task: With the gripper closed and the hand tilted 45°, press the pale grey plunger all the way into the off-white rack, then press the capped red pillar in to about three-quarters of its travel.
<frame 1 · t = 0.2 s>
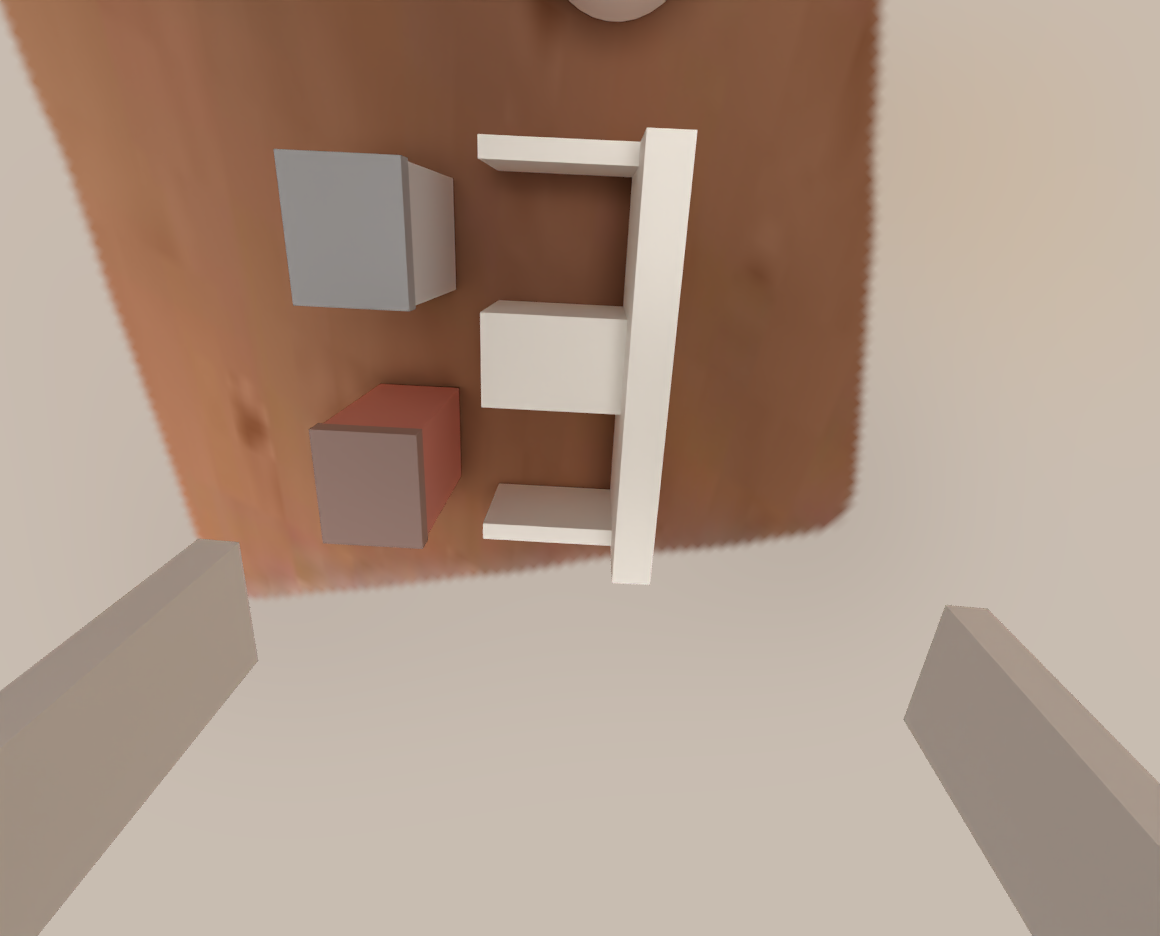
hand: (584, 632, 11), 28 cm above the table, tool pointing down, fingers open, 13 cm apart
capped red pillar: (398, 457, 34), point 5 cm above the table, slide at 0.0 cm
grey plunger: (383, 233, 30), point 5 cm above the table, slide at 0.0 cm
rack: (547, 344, 37), on the table
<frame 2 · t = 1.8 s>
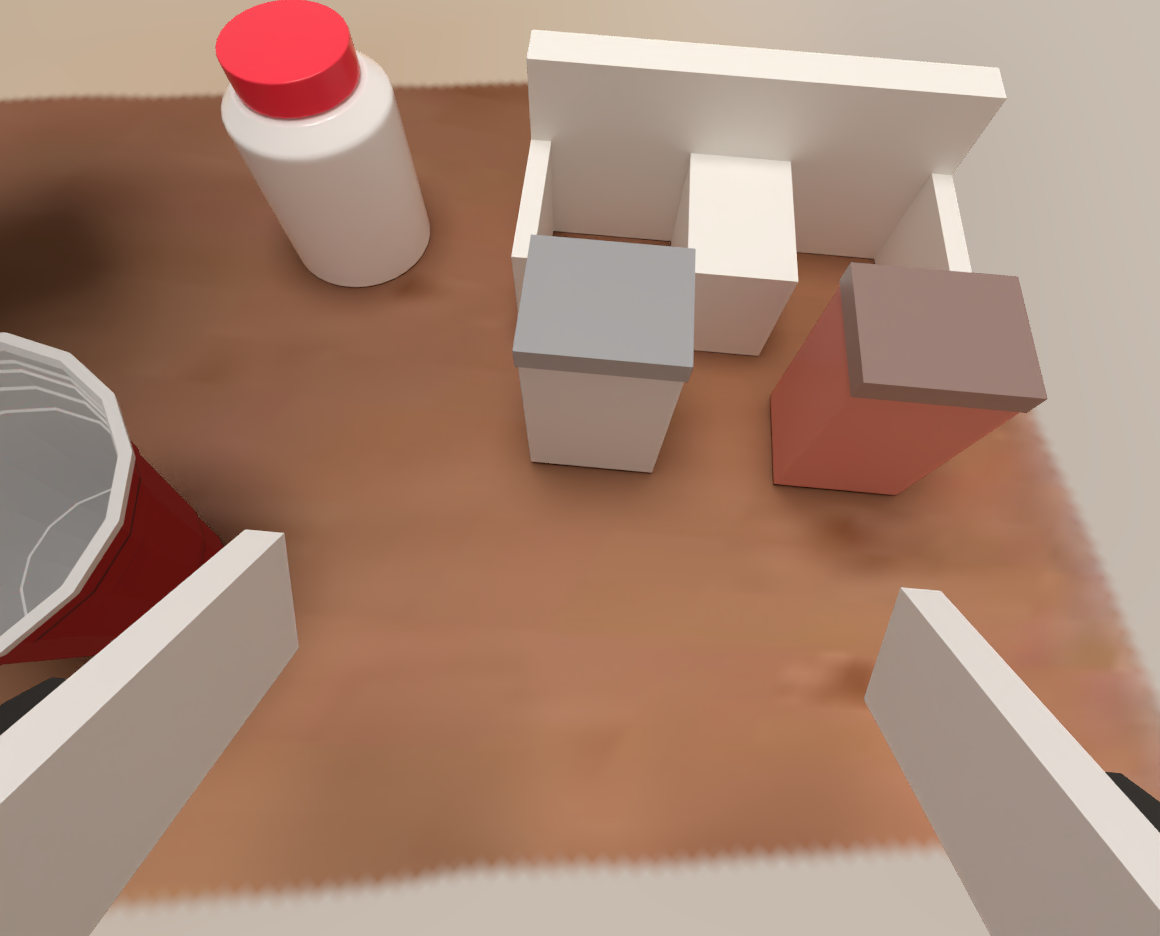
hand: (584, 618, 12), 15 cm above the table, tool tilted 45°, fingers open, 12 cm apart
capped red pillar: (877, 395, 26), point 5 cm above the table, slide at 0.0 cm
plastic cup: (173, 584, 27), on the table
pill bottle: (365, 237, 35), on the table
grey plunger: (600, 370, 26), point 5 cm above the table, slide at 0.0 cm
rack: (712, 306, 34), on the table
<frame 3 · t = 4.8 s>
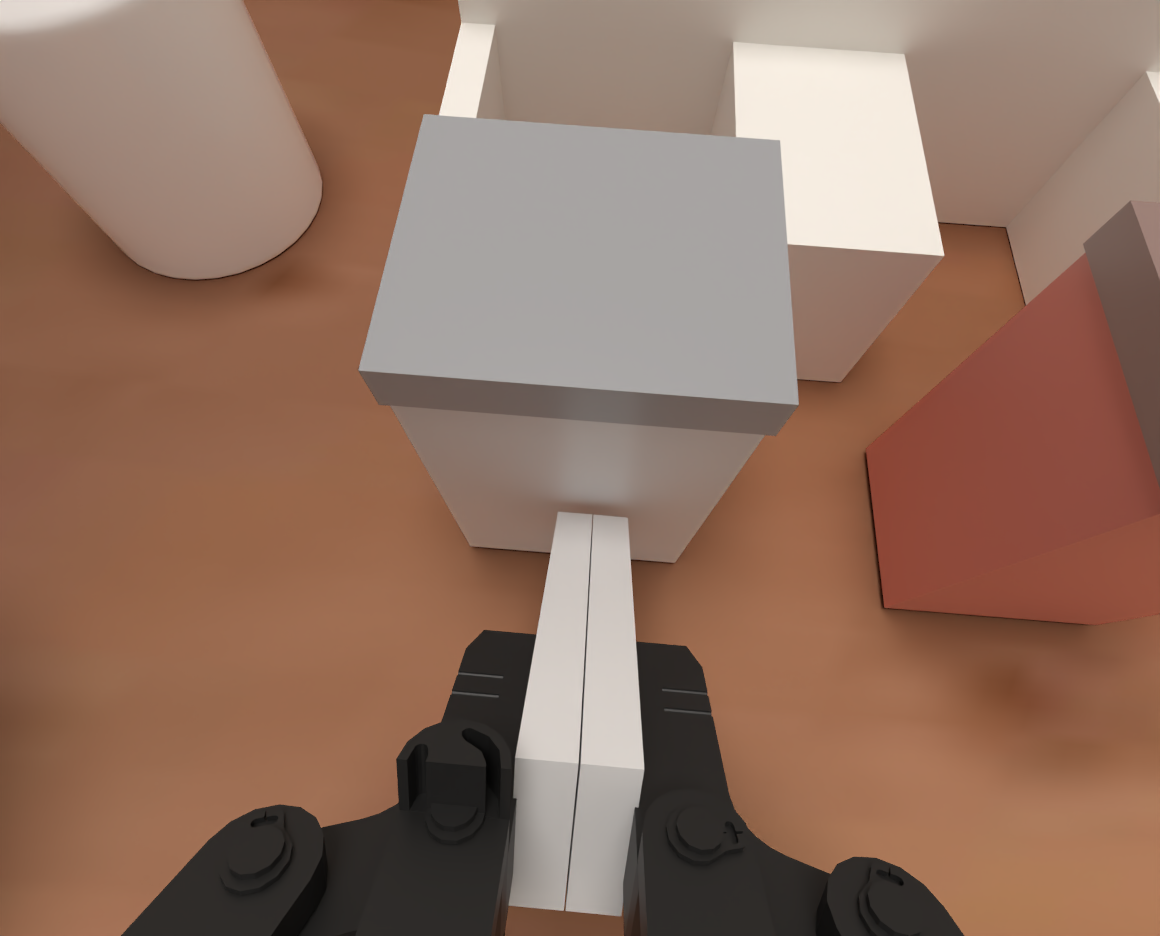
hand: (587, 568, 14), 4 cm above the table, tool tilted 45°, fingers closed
capped red pillar: (1111, 470, 13), point 5 cm above the table, slide at 0.0 cm
pill bottle: (222, 203, 23), on the table
grey plunger: (583, 397, 14), point 5 cm above the table, slide at 0.8 cm, touching gripper
rack: (762, 304, 21), on the table
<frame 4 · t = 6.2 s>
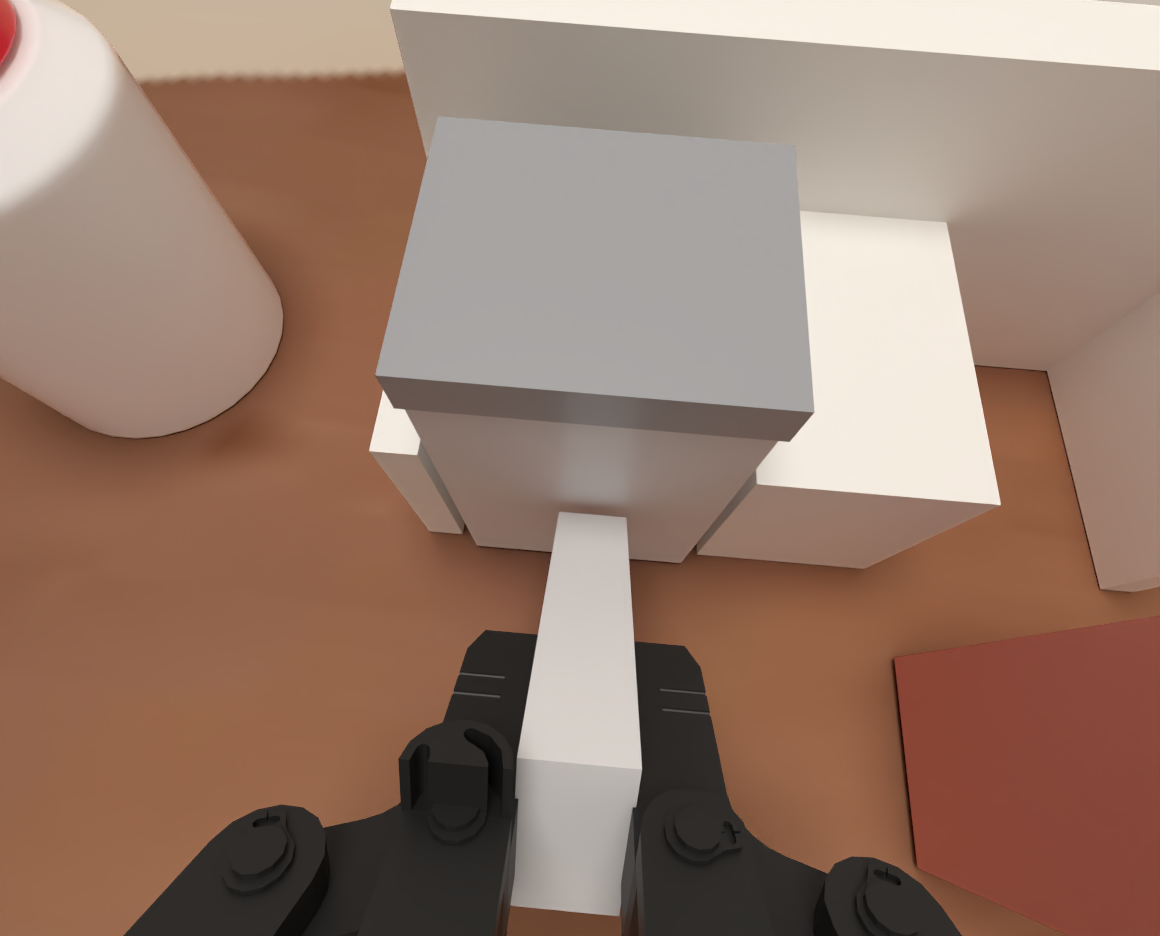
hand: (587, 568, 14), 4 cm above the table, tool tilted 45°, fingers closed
pill bottle: (170, 339, 20), on the table
grey plunger: (592, 398, 14), point 5 cm above the table, slide at 7.1 cm, touching gripper
rack: (776, 468, 19), on the table
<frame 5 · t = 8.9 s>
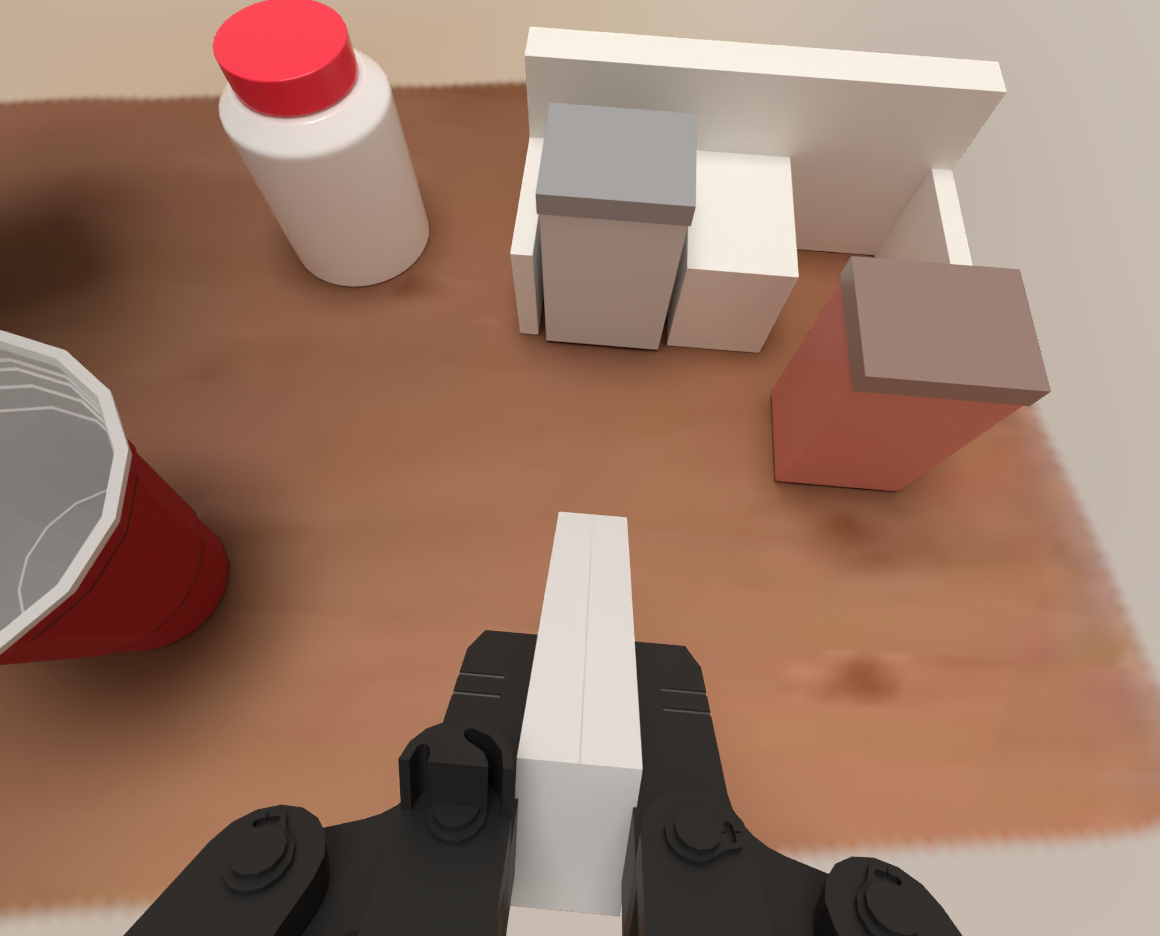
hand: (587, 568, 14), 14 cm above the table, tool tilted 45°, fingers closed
capped red pillar: (879, 390, 26), point 5 cm above the table, slide at 0.0 cm
plastic cup: (172, 584, 27), on the table
pill bottle: (364, 237, 35), on the table
grey plunger: (611, 241, 29), point 5 cm above the table, slide at 7.0 cm
rack: (712, 304, 34), on the table
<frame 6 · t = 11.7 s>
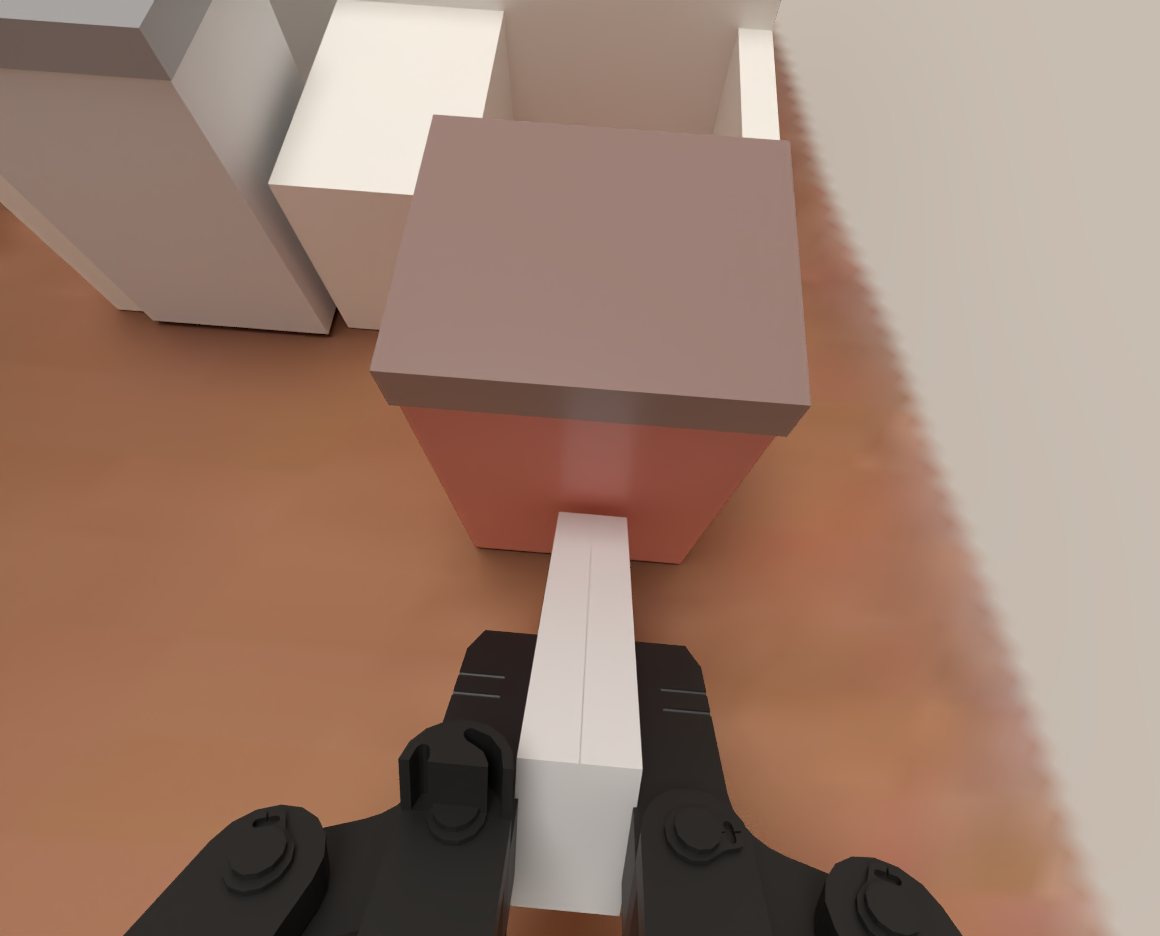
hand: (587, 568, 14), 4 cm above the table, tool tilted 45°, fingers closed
capped red pillar: (589, 397, 14), point 5 cm above the table, slide at 0.1 cm, touching gripper
grey plunger: (178, 147, 17), point 5 cm above the table, slide at 7.0 cm
rack: (435, 264, 22), on the table
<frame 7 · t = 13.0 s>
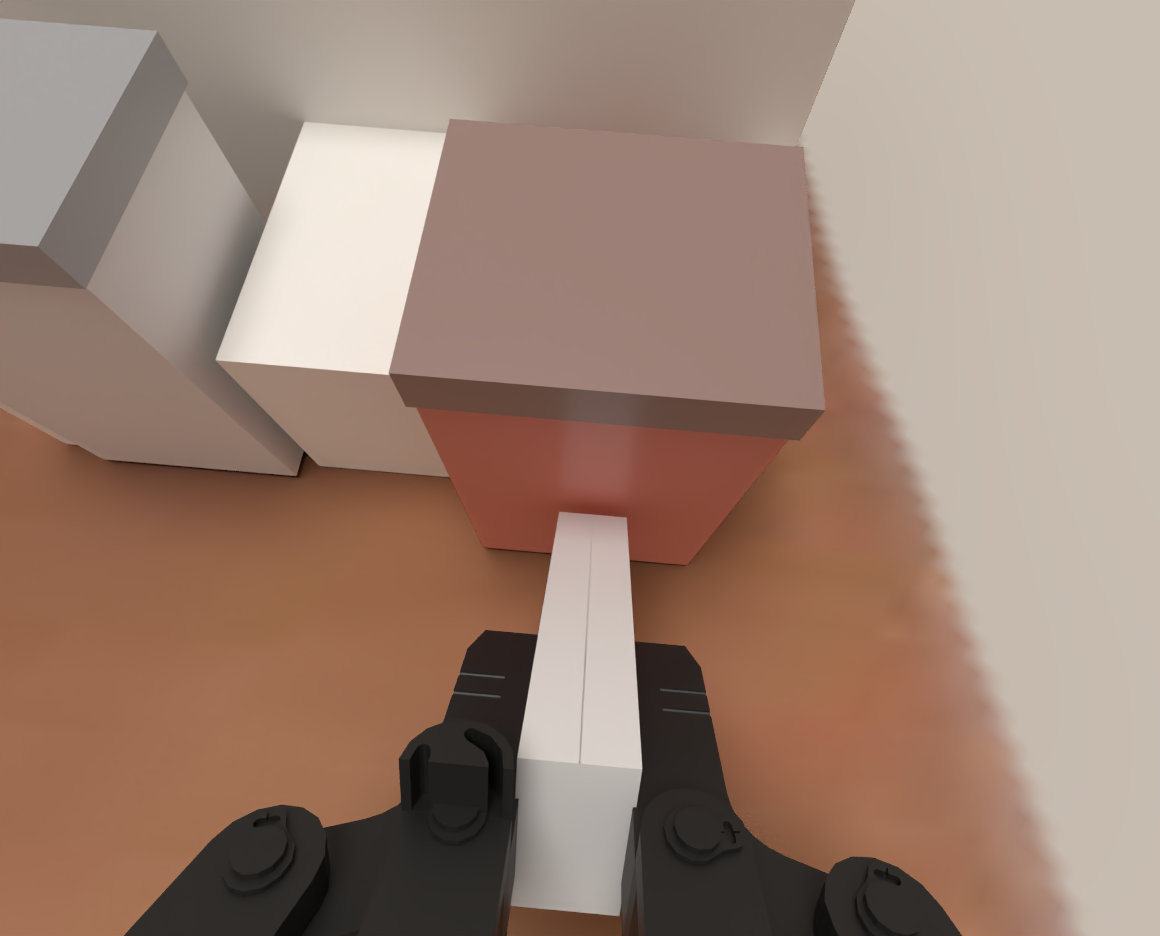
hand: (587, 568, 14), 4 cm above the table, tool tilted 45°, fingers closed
capped red pillar: (600, 399, 14), point 5 cm above the table, slide at 5.3 cm, touching gripper
grey plunger: (120, 298, 15), point 5 cm above the table, slide at 7.0 cm
rack: (416, 389, 20), on the table
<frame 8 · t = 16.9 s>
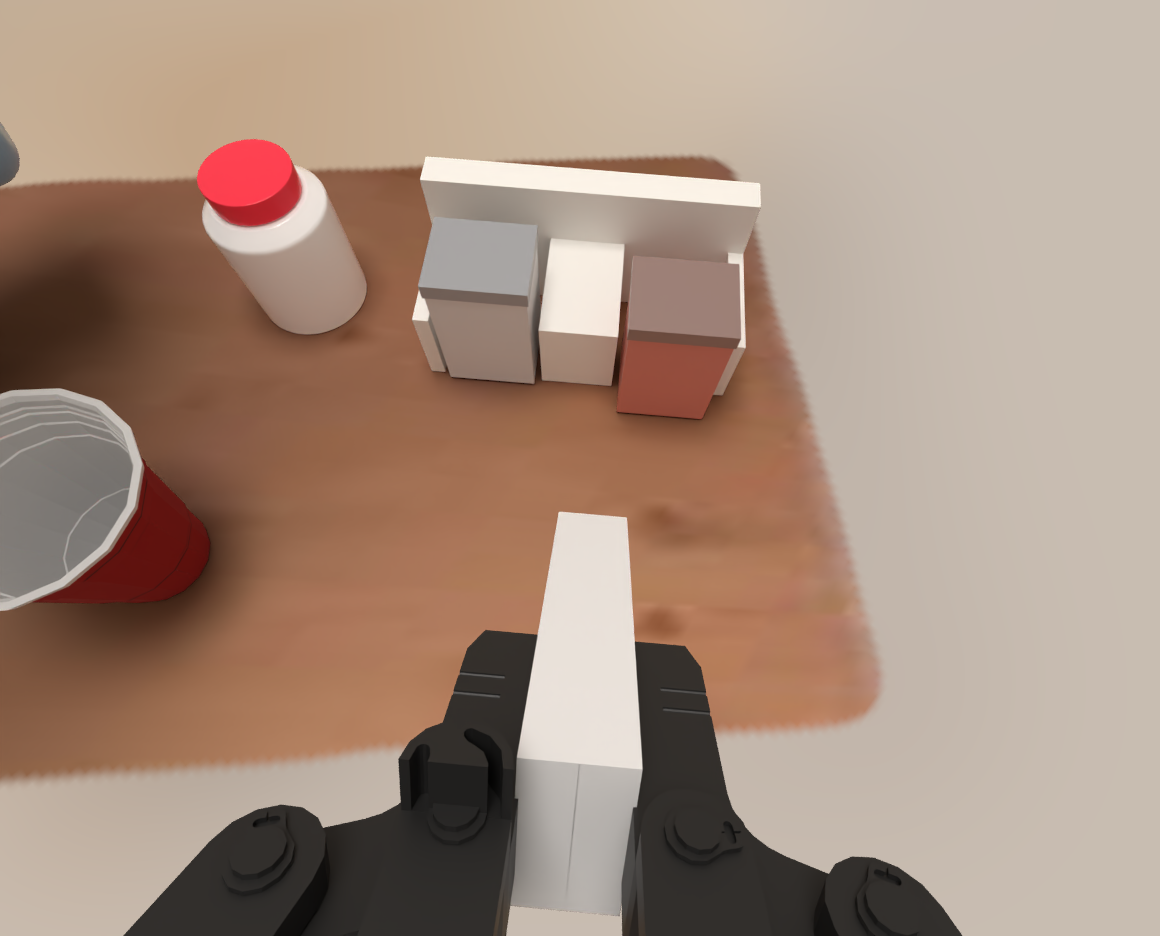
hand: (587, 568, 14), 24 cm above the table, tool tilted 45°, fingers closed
capped red pillar: (671, 345, 38), point 5 cm above the table, slide at 5.3 cm
plastic cup: (169, 557, 38), on the table
pill bottle: (316, 294, 46), on the table
grey plunger: (489, 308, 39), point 5 cm above the table, slide at 7.0 cm
rack: (580, 348, 44), on the table
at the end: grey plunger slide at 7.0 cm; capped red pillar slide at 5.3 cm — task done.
